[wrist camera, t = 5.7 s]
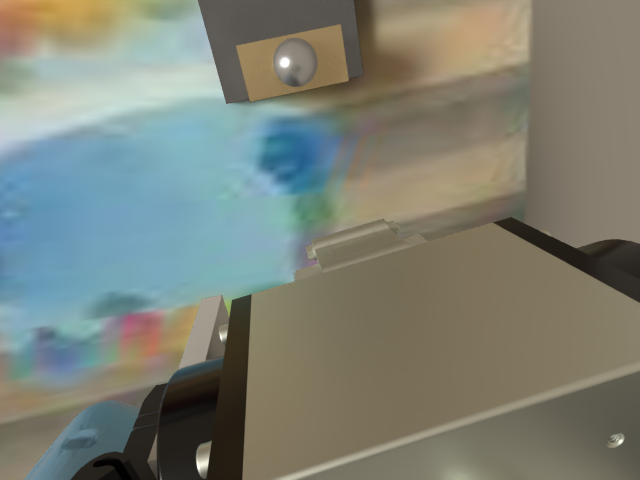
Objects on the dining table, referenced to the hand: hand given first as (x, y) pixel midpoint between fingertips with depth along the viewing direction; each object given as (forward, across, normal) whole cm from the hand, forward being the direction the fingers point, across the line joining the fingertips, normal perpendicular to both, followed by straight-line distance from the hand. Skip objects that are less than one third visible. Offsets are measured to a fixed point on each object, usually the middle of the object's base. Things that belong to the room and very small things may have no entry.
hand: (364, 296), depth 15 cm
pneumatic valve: (+2, 0, 0) cm, 2 cm away
